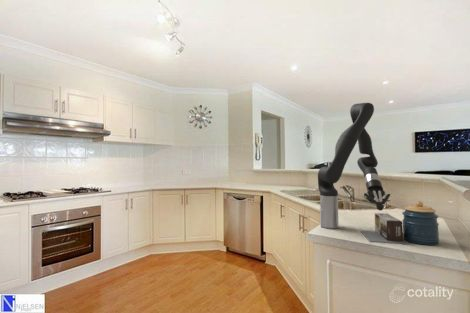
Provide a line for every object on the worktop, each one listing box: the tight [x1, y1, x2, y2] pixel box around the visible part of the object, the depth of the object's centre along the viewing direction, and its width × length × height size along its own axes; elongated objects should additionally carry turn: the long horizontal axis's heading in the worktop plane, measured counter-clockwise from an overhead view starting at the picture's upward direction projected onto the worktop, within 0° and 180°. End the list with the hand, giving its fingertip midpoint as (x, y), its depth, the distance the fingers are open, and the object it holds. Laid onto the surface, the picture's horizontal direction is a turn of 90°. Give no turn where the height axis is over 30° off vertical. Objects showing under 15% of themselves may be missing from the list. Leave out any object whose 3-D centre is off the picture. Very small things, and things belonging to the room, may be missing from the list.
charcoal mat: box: [360, 229, 409, 245], centre depth 113 cm, size 15×17×1 cm
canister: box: [401, 201, 440, 246], centre depth 108 cm, size 13×13×18 cm
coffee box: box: [374, 212, 404, 241], centre depth 114 cm, size 9×6×16 cm
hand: (380, 209), depth 121 cm, fingers closed
